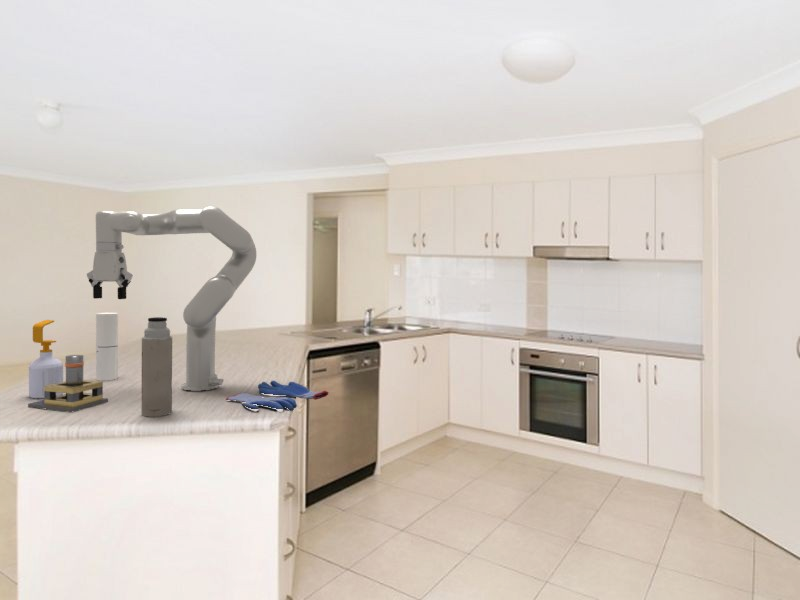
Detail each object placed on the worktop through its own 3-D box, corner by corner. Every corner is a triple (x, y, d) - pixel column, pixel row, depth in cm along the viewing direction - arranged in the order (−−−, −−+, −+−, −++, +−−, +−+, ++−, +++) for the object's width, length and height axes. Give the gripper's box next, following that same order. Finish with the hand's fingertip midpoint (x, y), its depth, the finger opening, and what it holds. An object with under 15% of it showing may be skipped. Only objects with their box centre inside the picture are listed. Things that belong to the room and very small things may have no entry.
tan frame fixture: (107, 401, 156) (107, 381, 156) (71, 412, 144) (70, 389, 143) (67, 397, 160) (67, 377, 160) (28, 407, 148) (27, 385, 147)
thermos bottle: (136, 416, 141) (136, 318, 139) (148, 409, 149) (148, 316, 147) (165, 417, 141) (166, 319, 140) (176, 409, 149) (176, 316, 148)
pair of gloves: (276, 417, 145) (276, 405, 145) (211, 406, 156) (211, 394, 156) (335, 395, 174) (335, 385, 174) (277, 387, 185) (277, 377, 185)
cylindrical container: (107, 381, 184) (107, 314, 183) (91, 380, 186) (91, 313, 185) (122, 377, 191) (122, 313, 190) (106, 376, 193) (106, 312, 192)
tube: (87, 400, 153) (87, 355, 152) (74, 404, 149) (73, 357, 148) (75, 399, 154) (75, 354, 154) (61, 402, 150) (61, 356, 149)
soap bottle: (69, 393, 165) (69, 320, 163) (42, 400, 156) (41, 322, 155) (50, 391, 168) (50, 318, 166) (22, 397, 159) (21, 320, 158)
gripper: (139, 248, 170) (139, 298, 171) (96, 248, 174) (97, 297, 174) (122, 247, 163) (123, 299, 163) (78, 247, 166) (79, 298, 167)
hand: (109, 298), depth 169 cm, fingers open, 9 cm apart
